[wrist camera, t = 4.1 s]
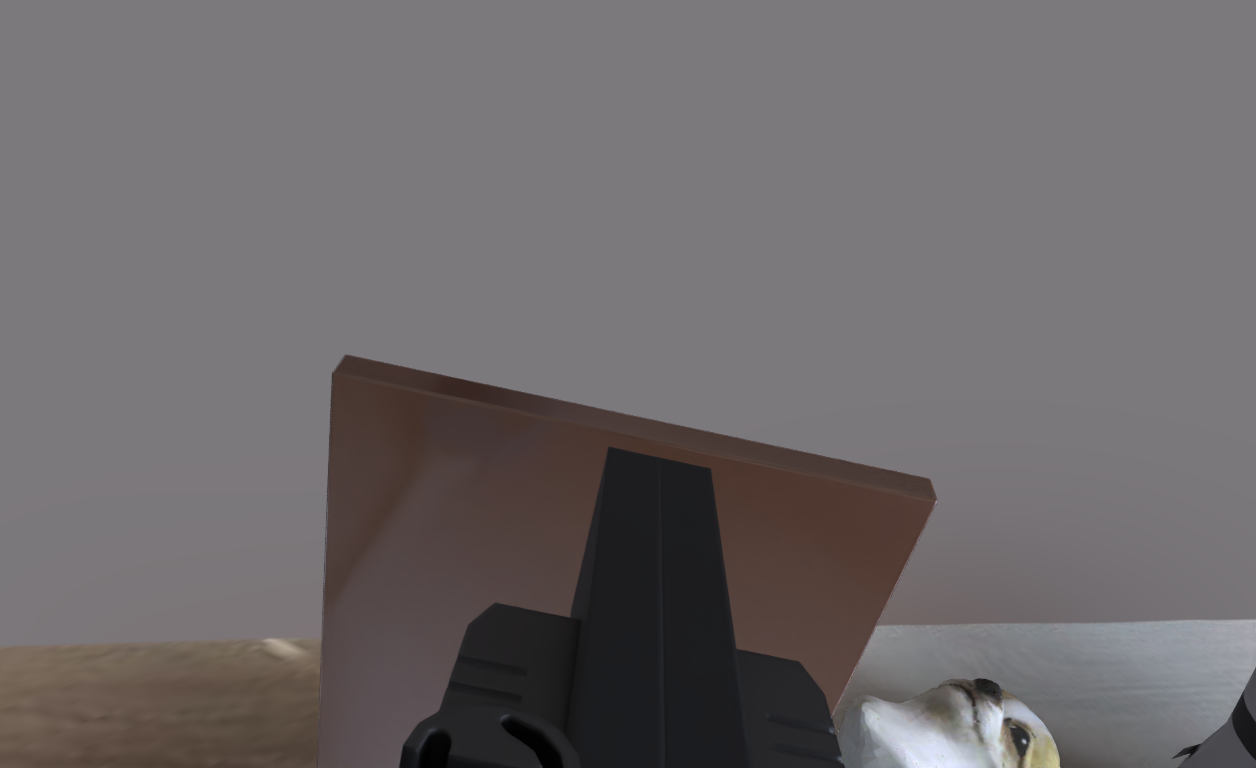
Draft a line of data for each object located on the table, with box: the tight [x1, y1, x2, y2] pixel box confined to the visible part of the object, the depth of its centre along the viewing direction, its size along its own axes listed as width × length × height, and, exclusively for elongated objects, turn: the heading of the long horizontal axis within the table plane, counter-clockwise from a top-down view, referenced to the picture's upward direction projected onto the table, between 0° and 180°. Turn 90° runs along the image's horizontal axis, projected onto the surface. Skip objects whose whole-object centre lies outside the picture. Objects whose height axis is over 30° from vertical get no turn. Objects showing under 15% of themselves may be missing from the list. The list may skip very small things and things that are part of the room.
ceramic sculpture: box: [837, 678, 1060, 768], centre depth 46 cm, size 11×9×15 cm
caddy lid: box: [316, 355, 937, 768], centre depth 23 cm, size 14×13×1 cm
